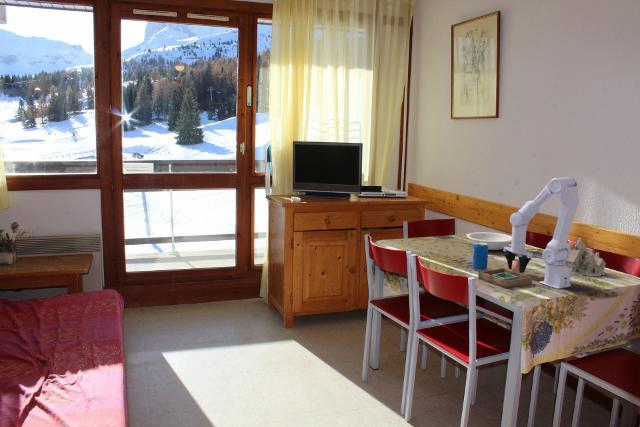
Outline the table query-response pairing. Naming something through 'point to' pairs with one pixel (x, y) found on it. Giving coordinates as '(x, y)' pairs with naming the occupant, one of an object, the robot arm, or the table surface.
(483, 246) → the beverage can
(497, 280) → the walled tray
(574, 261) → the ceramic cottage
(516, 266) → the terracotta peg
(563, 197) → the robot arm
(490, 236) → the soup bowl
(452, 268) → the table surface
